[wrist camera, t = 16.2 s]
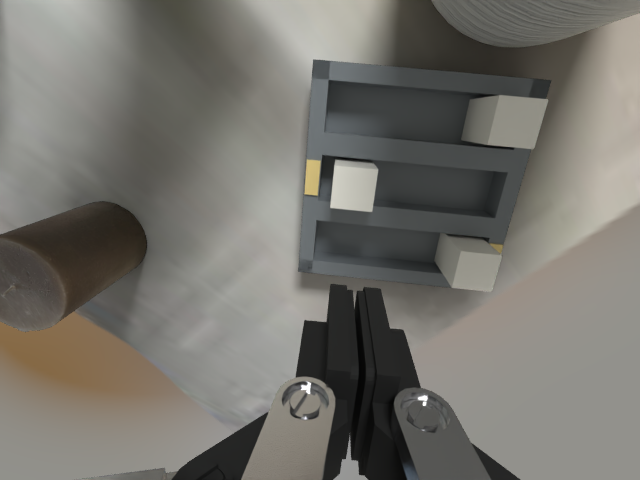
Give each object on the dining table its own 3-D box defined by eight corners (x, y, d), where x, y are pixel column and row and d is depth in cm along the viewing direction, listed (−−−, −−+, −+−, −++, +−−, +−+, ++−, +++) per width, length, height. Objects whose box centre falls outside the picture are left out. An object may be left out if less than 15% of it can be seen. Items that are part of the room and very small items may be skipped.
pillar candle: (141, 202, 42) (39, 245, 28) (152, 274, 45) (66, 344, 31) (66, 199, 42) (-72, 239, 28) (82, 270, 46) (-34, 337, 32)
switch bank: (302, 258, 43) (297, 272, 39) (316, 65, 35) (313, 59, 31) (476, 276, 42) (490, 292, 38) (528, 84, 35) (552, 79, 31)
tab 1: (434, 260, 41) (451, 287, 34) (441, 229, 39) (460, 251, 33) (467, 263, 41) (491, 292, 34) (475, 232, 39) (502, 255, 33)
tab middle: (332, 192, 39) (330, 207, 32) (335, 157, 37) (334, 165, 31) (367, 196, 39) (372, 212, 32) (371, 160, 37) (378, 169, 31)
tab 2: (460, 140, 36) (487, 144, 29) (469, 99, 34) (499, 94, 28) (498, 143, 36) (534, 149, 29) (509, 103, 34) (548, 99, 28)
